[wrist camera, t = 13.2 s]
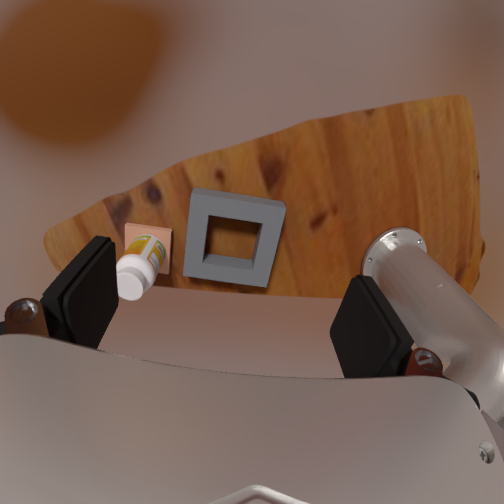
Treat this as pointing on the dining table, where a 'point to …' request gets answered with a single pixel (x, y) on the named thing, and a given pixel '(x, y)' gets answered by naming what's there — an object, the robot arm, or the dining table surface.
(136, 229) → the mat
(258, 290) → the dining table surface
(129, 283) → the supplement bottle
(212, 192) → the frame
